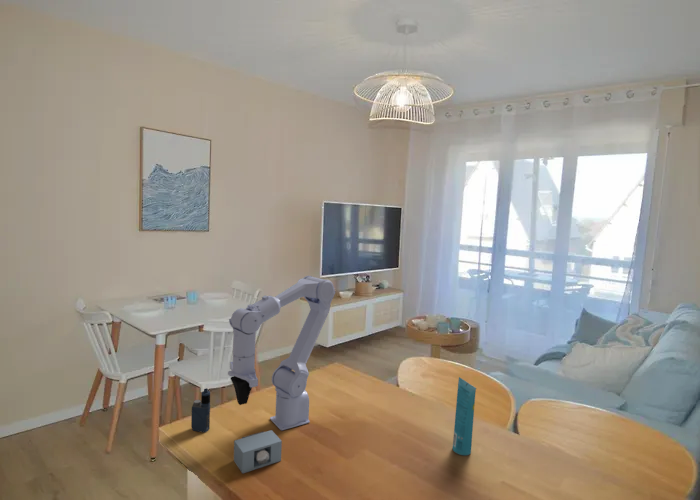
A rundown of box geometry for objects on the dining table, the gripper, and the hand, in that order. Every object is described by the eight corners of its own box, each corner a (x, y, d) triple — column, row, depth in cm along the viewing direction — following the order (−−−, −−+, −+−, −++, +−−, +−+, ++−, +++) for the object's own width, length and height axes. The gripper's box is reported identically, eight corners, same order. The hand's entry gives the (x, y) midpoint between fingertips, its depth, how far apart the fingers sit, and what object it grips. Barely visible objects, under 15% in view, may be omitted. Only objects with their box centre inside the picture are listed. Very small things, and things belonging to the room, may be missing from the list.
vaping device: (206, 433, 114) (207, 391, 113) (189, 430, 115) (190, 389, 114) (211, 428, 117) (212, 387, 115) (194, 426, 118) (195, 385, 116)
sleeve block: (281, 460, 103) (281, 441, 103) (242, 473, 98) (243, 452, 97) (270, 447, 109) (270, 429, 108) (233, 459, 103) (233, 439, 102)
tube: (477, 456, 110) (483, 386, 108) (463, 460, 108) (469, 389, 106) (459, 441, 116) (464, 376, 115) (445, 445, 114) (450, 378, 112)
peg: (270, 462, 101) (270, 448, 101) (256, 467, 99) (256, 453, 99) (258, 448, 107) (259, 435, 106) (245, 452, 105) (245, 439, 104)
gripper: (219, 348, 113) (218, 396, 114) (239, 365, 101) (238, 418, 103) (244, 344, 117) (242, 390, 118) (266, 360, 106) (264, 411, 107)
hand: (242, 403), depth 111 cm, fingers closed
